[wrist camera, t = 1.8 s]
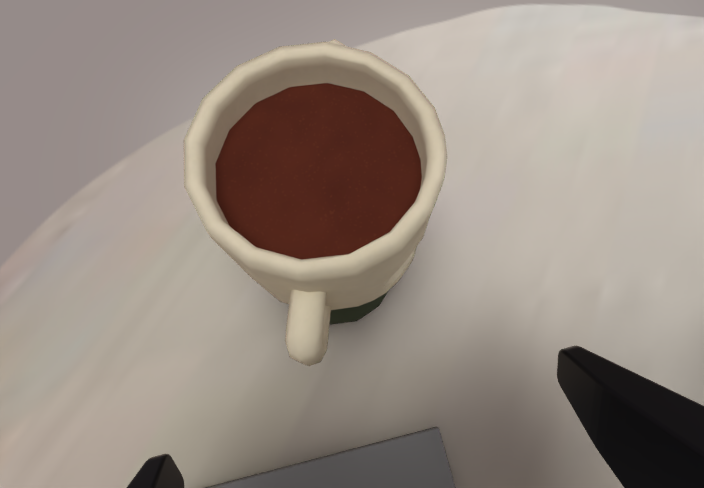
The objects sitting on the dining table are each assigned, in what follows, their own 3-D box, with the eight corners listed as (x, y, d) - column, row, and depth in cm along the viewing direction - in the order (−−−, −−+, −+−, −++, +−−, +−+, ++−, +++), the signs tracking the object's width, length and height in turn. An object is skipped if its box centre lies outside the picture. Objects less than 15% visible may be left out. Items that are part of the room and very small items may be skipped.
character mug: (396, 377, 22) (446, 371, 10) (257, 366, 23) (136, 347, 10) (405, 182, 26) (450, -7, 13) (283, 174, 26) (216, -19, 13)
